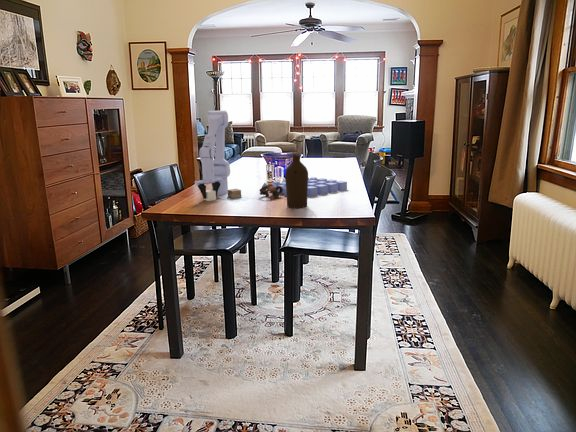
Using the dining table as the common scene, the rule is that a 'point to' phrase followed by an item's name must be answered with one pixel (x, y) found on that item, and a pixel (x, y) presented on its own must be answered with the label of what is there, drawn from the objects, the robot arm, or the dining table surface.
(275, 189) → the dark brown figurine
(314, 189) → the blocks
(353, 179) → the dining table surface
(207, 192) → the ivory block
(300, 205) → the olive oil
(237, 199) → the board
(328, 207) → the dining table surface
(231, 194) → the walnut base block
